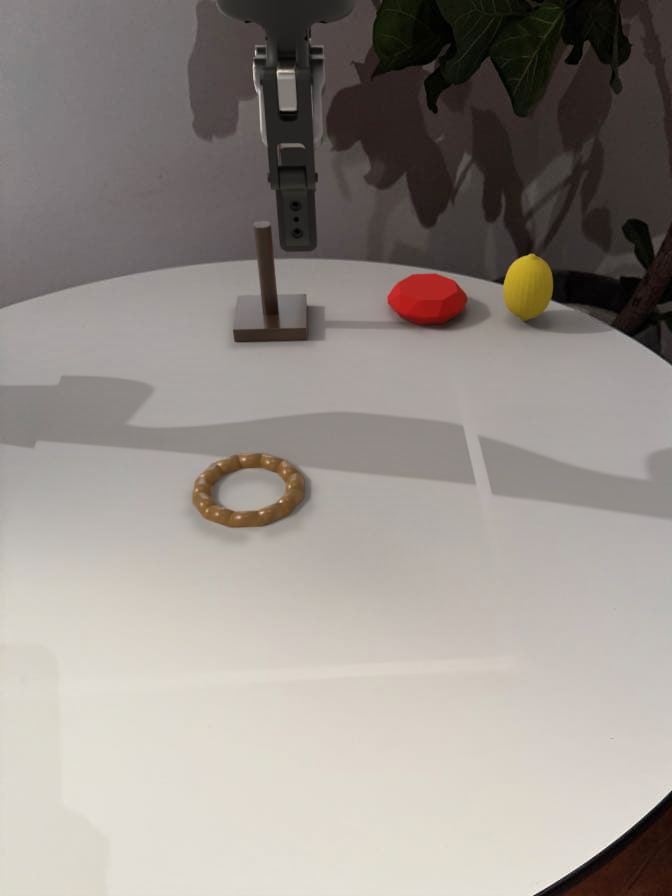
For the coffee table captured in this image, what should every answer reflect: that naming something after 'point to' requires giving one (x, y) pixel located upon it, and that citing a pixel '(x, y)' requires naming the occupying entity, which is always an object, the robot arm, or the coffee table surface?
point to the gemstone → (427, 298)
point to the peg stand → (269, 301)
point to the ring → (248, 518)
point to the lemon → (528, 287)
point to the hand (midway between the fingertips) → (299, 219)
